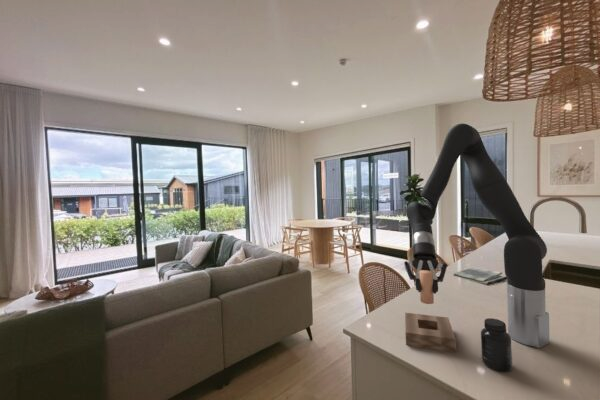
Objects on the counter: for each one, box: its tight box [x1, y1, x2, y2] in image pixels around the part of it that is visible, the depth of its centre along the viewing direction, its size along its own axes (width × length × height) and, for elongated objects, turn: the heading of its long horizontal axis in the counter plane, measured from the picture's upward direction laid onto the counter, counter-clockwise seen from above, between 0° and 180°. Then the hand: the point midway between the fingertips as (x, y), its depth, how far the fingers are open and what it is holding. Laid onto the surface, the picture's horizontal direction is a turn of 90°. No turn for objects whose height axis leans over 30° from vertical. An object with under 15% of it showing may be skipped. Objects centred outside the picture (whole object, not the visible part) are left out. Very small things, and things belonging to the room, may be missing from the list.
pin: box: [419, 270, 435, 305], centre depth 88 cm, size 4×4×10 cm
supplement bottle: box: [480, 317, 513, 373], centre depth 73 cm, size 7×7×12 cm
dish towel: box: [453, 267, 507, 286], centre depth 141 cm, size 19×18×3 cm
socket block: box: [404, 312, 457, 353], centre depth 88 cm, size 14×14×4 cm
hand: (427, 291), depth 86 cm, fingers closed on pin, 4 cm apart
